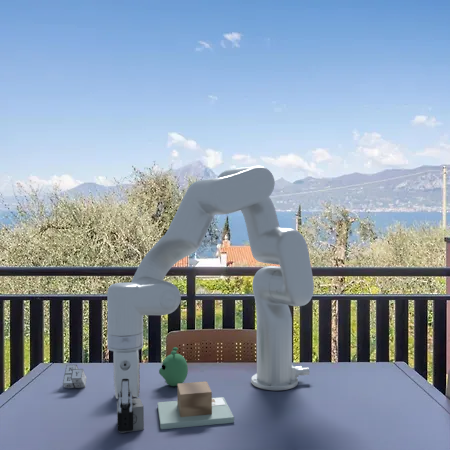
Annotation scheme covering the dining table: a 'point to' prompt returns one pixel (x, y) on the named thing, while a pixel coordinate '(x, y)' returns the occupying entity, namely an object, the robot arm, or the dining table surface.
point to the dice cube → (135, 414)
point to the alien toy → (174, 368)
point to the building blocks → (74, 377)
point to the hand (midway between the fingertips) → (125, 423)
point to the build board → (172, 418)
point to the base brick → (194, 399)
